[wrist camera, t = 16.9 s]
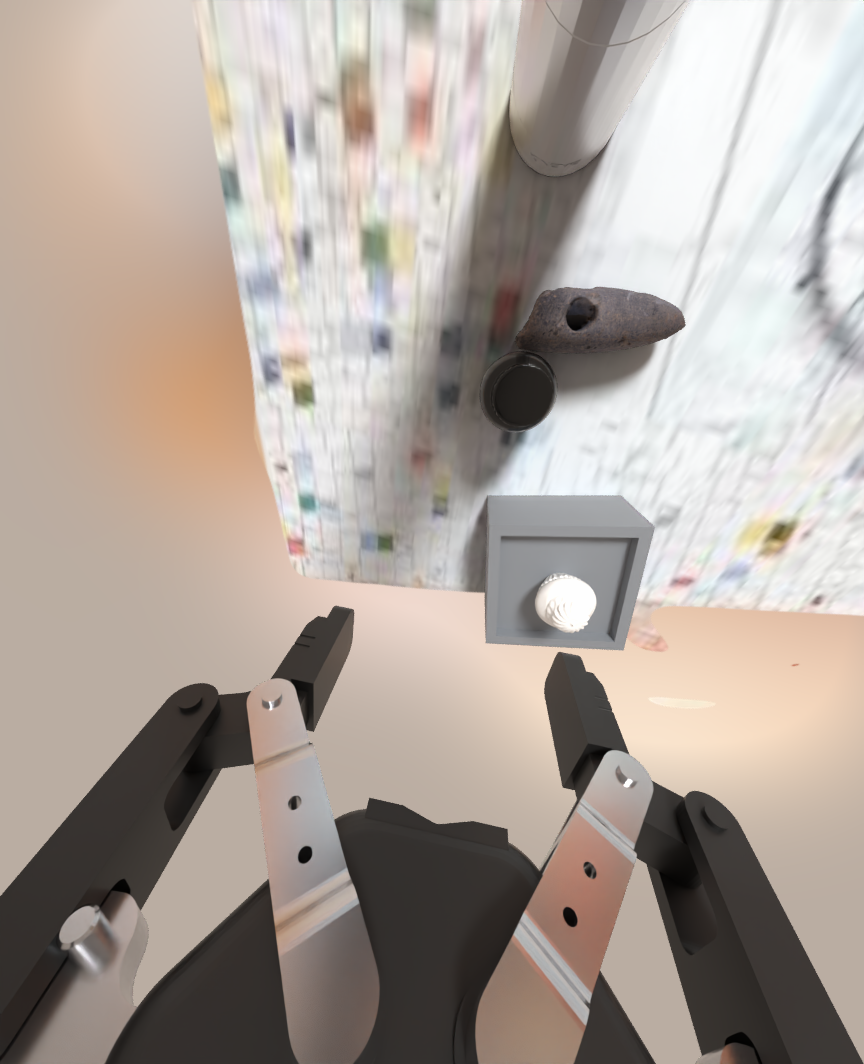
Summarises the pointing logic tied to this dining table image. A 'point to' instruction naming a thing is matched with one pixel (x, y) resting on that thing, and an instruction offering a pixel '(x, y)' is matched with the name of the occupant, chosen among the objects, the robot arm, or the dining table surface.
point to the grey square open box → (563, 565)
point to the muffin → (565, 602)
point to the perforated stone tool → (597, 321)
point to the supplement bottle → (518, 391)
